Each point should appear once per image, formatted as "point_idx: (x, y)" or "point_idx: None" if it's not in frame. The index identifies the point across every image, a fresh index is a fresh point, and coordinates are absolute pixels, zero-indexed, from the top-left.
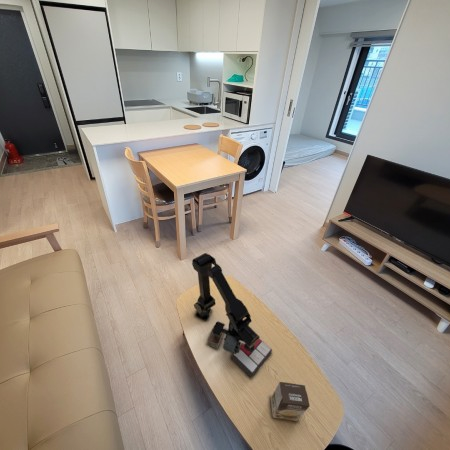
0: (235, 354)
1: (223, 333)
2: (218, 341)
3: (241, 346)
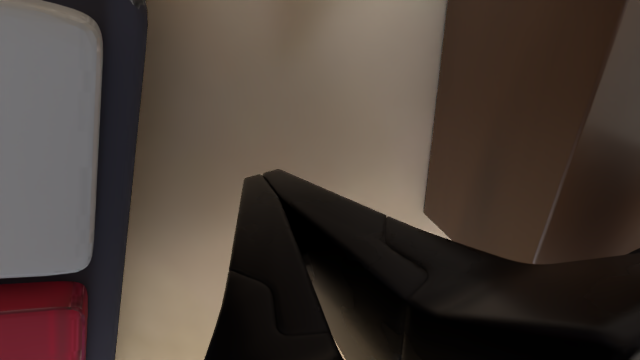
0: (16, 40)
1: (437, 224)
2: (610, 71)
3: (60, 347)
